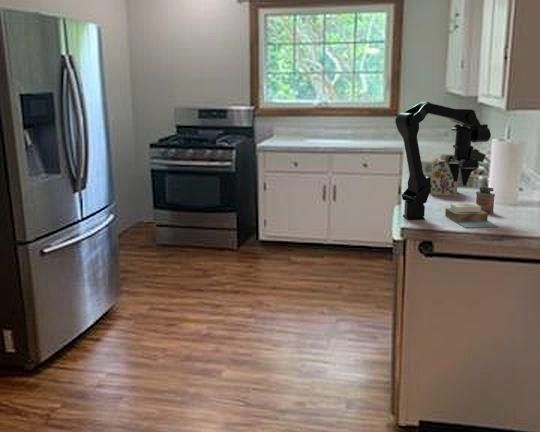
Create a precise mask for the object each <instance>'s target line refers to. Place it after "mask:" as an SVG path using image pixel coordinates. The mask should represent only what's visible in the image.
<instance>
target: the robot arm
mask: <svg viewBox="0 0 540 432" xmlns="http://www.w3.org/2000/svg"><path fill="white" fill-rule="evenodd" d="M427 115H432V116H436V117H441V118H445V119H448V120H450V121H452V122H453V123H456V124H454V126H453V127H451V129H450V131H454V132H455V139H454V141H455V143H454V144H453V145H452V149H453V148H454V152H453V153H454V154H448V155H447V156H446V159H445V162H448V163H447V165H448V167H449V170H450V172H451V175H452V177H453V180H454V182H457V180H458V181H459V175H460V180H461V184H462V186H464V187H465V186H467V183H468V182H469V179H470V177H471V175H472V173H473V172H474V171H476V170H477V169H479V167H480V163H483V162H484V160H485V158H486V156H487V155H486V154H485V153H482V152H480V150H479V149H477V148H474V146H473V145H472V143H487V142H488V141H490V139H491V136H492V134H491V131H490V128H489V127H488V126H489V124H485V123H480V121H479V119H478V117H477V114H476V111H475V109H472V108H471V109H469V108H452V107H448V106H445V105H444V106H443V105H439V104H437V103H431V102H429V101H420V102H418V103H417V104H416V105H414V106H411V107H410V108H407V109H406V110H405V111H403V112H400V113H398V115H397V116H396V117H395V120H394V121H395V126H396V128H397V131H398V133H399V134H400V136H401V137H402V139H403V145H404V151H405V155H406V160H407V166H408V167H407V168H408V172H409V177H408V179H407V180H408V181H407V188H406V189H405V190H404V192H403V193H402V194H401V199H402V201H404V211H403V212H404V214H402V217H403V218H405V219H407V220H425V212H426V211H425V210H426V209H425V207H426V206H425V205H424V204H426V203H427V201H428V199H429V196H430V193H431V188H432V186H431V176H426V175H425V174H424V170H423V169H424V168H423V164H422V158H421V152H420V147H419V142H418V133H419V130H420V123H421V122H423V121H424V120H425V119H426V118H427V117H426V116H427Z"/></svg>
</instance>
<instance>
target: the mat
mask: <svg viewBox="0 0 540 432" xmlns="http://www.w3.org/2000/svg"><path fill="white" fill-rule="evenodd" d="M454 223H456V224H458V225H459V226H461V227H462V228H464V229H480V228H481V229H483V228H484V229H486V228H489V229H490V228H499V225H497V224H496V223H495V224H494V223H493V222H491V221H490V220H487V221H455V222H454Z"/></svg>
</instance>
